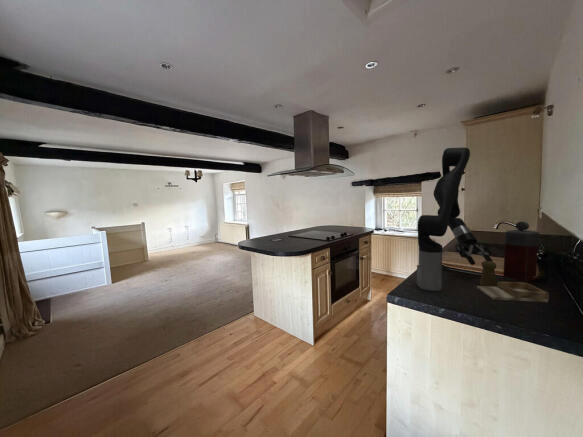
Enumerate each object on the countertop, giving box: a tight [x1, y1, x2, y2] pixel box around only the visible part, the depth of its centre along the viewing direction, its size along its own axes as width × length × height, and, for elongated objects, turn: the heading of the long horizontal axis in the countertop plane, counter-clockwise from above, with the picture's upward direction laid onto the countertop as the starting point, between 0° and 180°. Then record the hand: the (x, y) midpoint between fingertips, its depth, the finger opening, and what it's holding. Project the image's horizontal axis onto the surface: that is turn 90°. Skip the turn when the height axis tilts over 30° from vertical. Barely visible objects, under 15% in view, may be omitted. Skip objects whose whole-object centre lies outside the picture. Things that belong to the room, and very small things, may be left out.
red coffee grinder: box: [503, 220, 540, 283], centre depth 116 cm, size 9×11×28 cm
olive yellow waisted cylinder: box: [479, 260, 497, 287], centre depth 108 cm, size 6×6×11 cm
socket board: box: [476, 281, 550, 303], centre depth 98 cm, size 18×12×4 cm, turn 78°
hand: (482, 263), depth 112 cm, fingers open, 8 cm apart
